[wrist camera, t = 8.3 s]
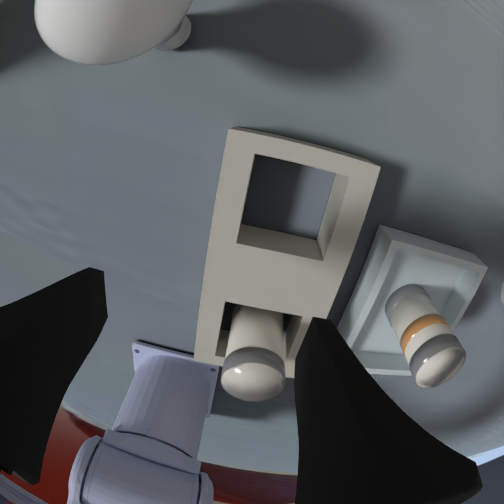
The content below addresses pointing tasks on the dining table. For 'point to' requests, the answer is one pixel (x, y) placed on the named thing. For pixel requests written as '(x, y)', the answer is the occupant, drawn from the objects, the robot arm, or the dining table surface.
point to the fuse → (254, 354)
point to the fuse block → (278, 244)
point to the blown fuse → (424, 336)
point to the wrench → (502, 294)
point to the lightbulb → (111, 28)
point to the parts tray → (395, 276)
